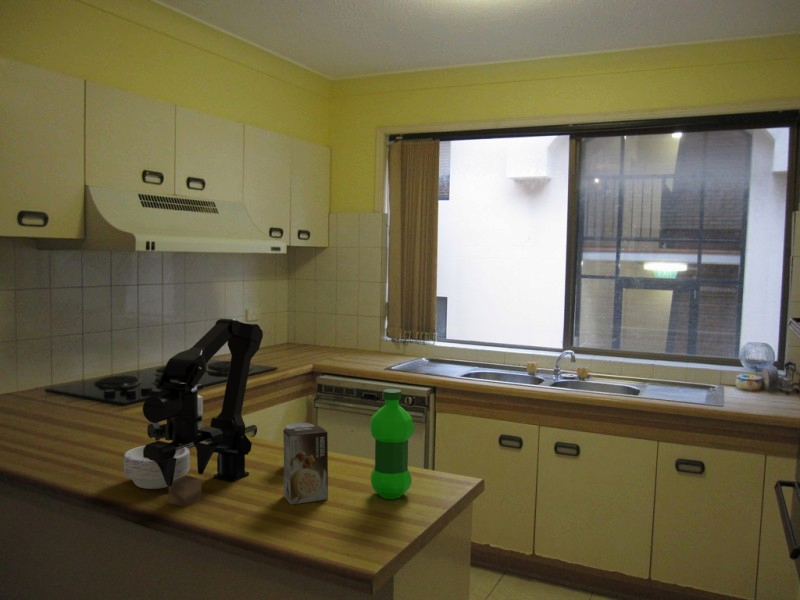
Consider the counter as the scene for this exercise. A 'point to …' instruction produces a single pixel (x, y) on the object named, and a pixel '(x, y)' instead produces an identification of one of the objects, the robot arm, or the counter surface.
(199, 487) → the walnut block
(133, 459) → the paper bowls
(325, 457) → the coffee box
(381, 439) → the plastic bottle
